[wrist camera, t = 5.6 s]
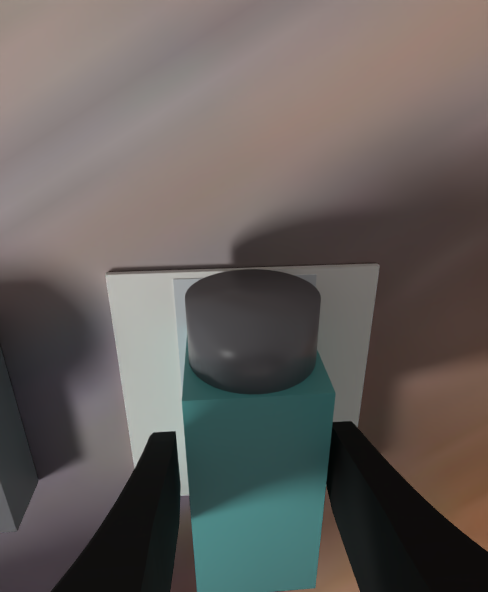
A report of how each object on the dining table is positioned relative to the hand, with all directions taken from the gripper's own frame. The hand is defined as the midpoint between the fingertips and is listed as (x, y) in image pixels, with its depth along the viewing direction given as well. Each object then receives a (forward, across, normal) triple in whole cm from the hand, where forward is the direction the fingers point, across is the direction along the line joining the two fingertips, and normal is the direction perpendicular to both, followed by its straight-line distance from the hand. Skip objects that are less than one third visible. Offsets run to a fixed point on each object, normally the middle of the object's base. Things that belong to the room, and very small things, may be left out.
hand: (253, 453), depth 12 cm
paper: (+3, 0, 0) cm, 3 cm away
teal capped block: (+3, 0, 0) cm, 3 cm away
